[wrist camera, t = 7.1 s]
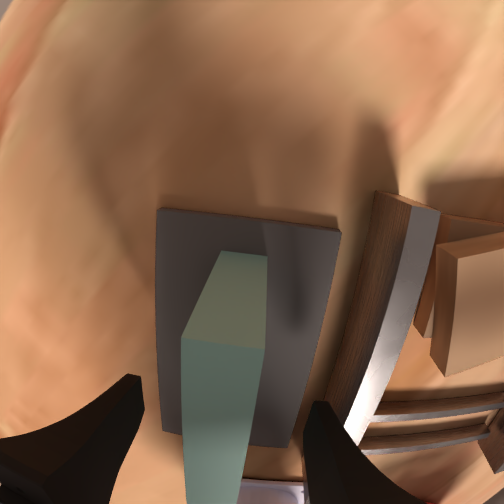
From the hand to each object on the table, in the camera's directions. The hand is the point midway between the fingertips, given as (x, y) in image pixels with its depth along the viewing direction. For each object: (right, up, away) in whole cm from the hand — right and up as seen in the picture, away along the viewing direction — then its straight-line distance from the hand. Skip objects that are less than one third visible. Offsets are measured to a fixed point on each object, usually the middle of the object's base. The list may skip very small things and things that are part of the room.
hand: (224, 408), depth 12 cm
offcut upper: (+15, +5, +1) cm, 15 cm away
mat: (0, +1, +4) cm, 4 cm away
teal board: (0, +2, +3) cm, 4 cm away
